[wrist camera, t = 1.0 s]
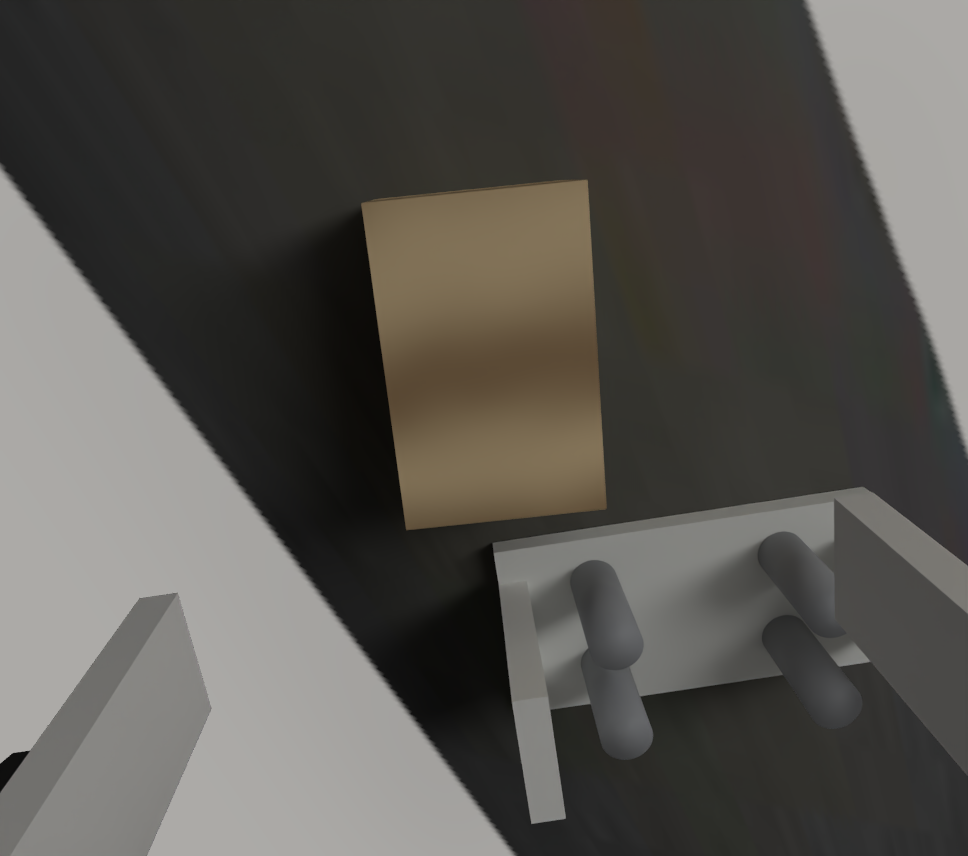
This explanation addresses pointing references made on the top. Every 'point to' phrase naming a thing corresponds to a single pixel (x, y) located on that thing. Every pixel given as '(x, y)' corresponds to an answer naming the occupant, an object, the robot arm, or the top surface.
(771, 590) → the peg stand
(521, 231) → the wooden block
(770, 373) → the top surface
